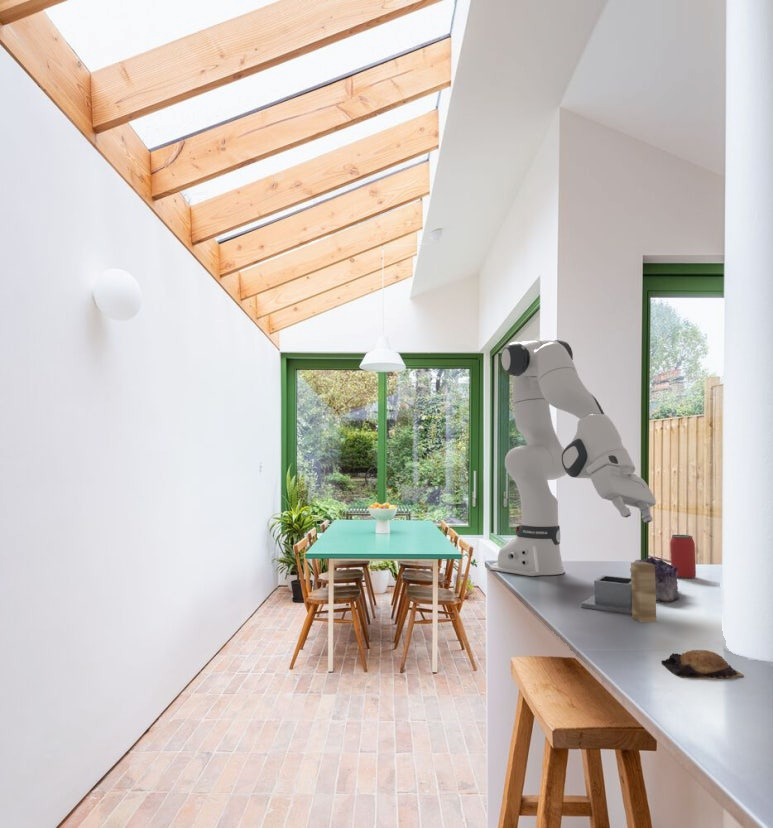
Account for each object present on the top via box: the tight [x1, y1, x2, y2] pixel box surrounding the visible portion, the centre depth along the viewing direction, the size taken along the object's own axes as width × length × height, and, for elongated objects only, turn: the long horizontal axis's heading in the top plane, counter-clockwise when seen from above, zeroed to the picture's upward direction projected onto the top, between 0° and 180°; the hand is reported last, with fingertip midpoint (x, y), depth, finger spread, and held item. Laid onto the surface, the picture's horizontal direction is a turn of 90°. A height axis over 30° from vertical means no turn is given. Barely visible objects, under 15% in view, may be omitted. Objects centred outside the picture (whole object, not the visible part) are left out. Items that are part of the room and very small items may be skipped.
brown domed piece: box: [660, 649, 745, 679], centre depth 100 cm, size 11×9×4 cm
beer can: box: [669, 534, 697, 580], centre depth 178 cm, size 7×7×12 cm
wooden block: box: [630, 561, 657, 623], centre depth 131 cm, size 4×4×12 cm
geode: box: [629, 556, 680, 604], centre depth 156 cm, size 20×12×10 cm, turn 168°
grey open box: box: [581, 575, 632, 615], centre depth 143 cm, size 13×13×6 cm
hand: (638, 519), depth 142 cm, fingers open, 8 cm apart
